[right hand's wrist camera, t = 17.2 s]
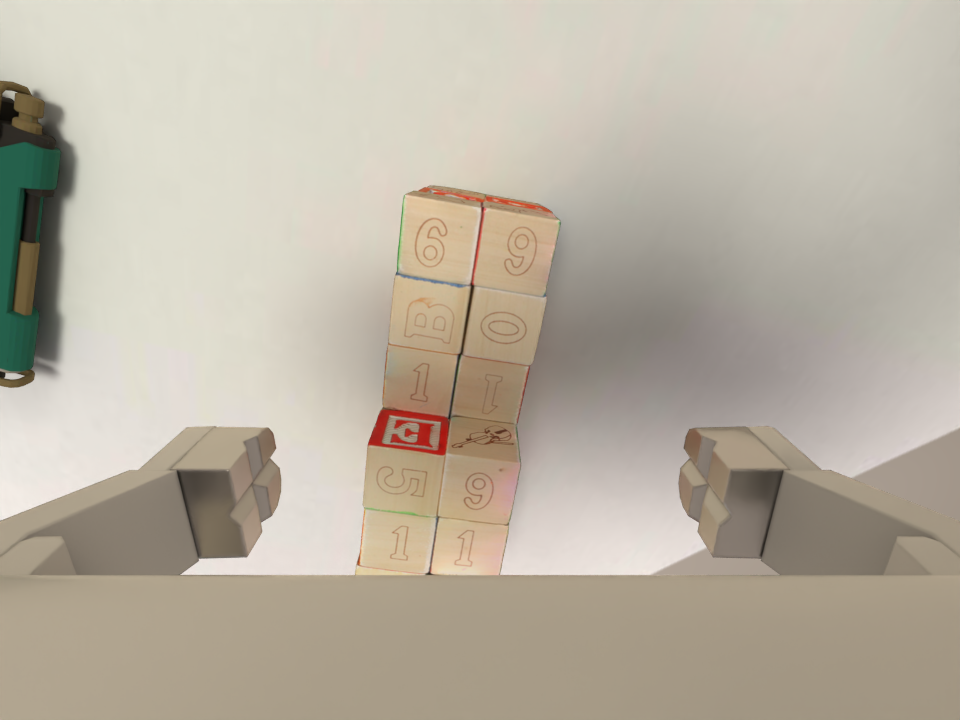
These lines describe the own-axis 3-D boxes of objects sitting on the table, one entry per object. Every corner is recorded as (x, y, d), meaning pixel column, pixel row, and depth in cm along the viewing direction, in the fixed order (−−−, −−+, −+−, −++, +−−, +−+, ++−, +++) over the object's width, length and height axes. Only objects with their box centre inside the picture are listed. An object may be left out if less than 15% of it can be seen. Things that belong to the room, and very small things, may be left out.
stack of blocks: (427, 181, 28) (390, 194, 16) (540, 202, 28) (583, 228, 16) (386, 504, 35) (341, 670, 24) (475, 517, 35) (474, 686, 24)
